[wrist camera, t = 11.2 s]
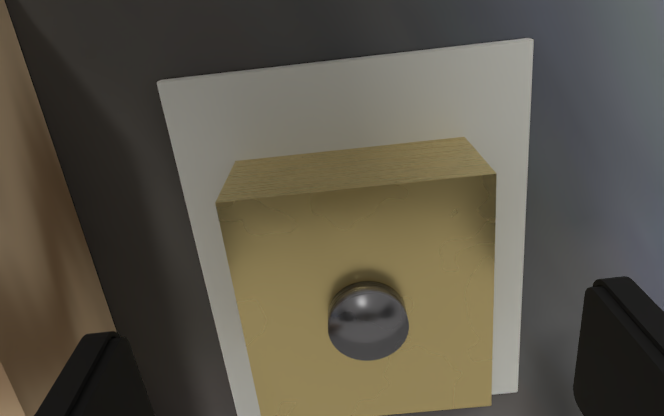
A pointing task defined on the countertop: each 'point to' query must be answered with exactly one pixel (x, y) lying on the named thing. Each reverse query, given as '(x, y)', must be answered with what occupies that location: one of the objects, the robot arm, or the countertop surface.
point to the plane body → (37, 247)
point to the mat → (356, 132)
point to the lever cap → (365, 277)
